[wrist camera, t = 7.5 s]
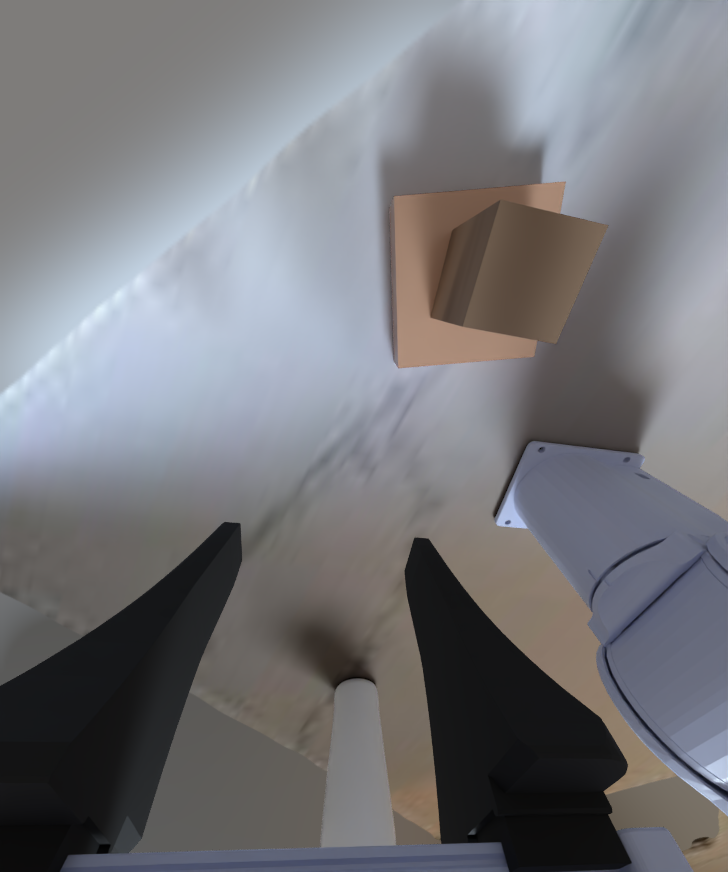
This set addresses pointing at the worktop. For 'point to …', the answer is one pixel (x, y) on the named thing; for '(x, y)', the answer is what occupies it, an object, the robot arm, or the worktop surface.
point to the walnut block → (516, 271)
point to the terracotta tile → (422, 266)
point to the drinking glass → (357, 772)
